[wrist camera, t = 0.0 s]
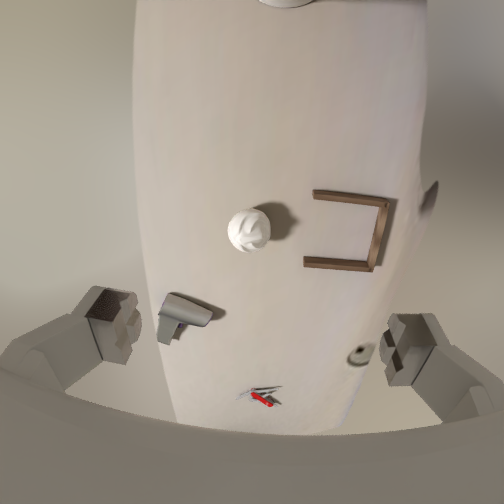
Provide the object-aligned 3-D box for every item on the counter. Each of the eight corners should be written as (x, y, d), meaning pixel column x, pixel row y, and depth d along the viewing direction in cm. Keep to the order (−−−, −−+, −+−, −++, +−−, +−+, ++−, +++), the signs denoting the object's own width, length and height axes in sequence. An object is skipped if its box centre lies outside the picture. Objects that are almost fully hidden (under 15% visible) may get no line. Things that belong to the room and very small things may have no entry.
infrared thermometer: (157, 329, 77) (165, 289, 69) (201, 344, 79) (215, 306, 71) (152, 342, 74) (158, 302, 66) (197, 358, 75) (211, 320, 67)
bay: (312, 189, 56) (314, 193, 54) (385, 198, 55) (389, 203, 53) (302, 260, 63) (303, 267, 61) (369, 266, 63) (372, 272, 60)
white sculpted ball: (272, 239, 61) (271, 259, 55) (234, 241, 62) (228, 261, 55) (268, 200, 58) (267, 216, 51) (228, 203, 59) (221, 219, 52)
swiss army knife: (294, 396, 85) (294, 401, 84) (260, 411, 90) (259, 416, 89) (269, 378, 82) (269, 384, 80) (234, 395, 87) (233, 400, 85)
